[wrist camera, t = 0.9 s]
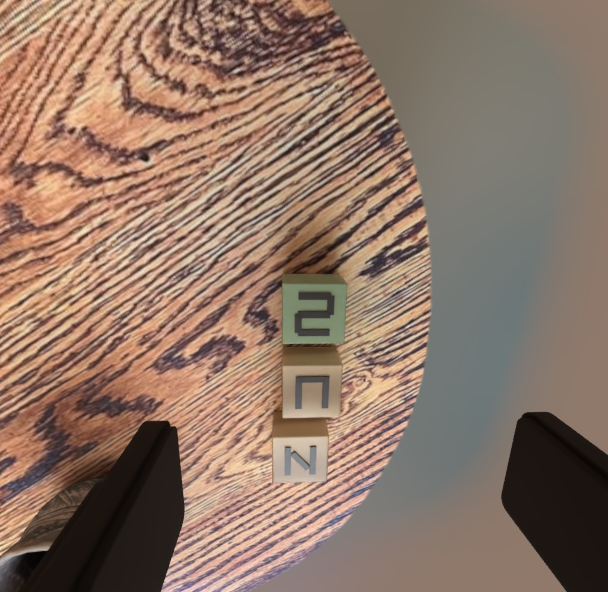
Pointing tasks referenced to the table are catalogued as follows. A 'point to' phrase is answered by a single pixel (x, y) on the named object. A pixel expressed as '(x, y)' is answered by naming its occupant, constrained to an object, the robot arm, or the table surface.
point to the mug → (40, 536)
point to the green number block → (313, 308)
